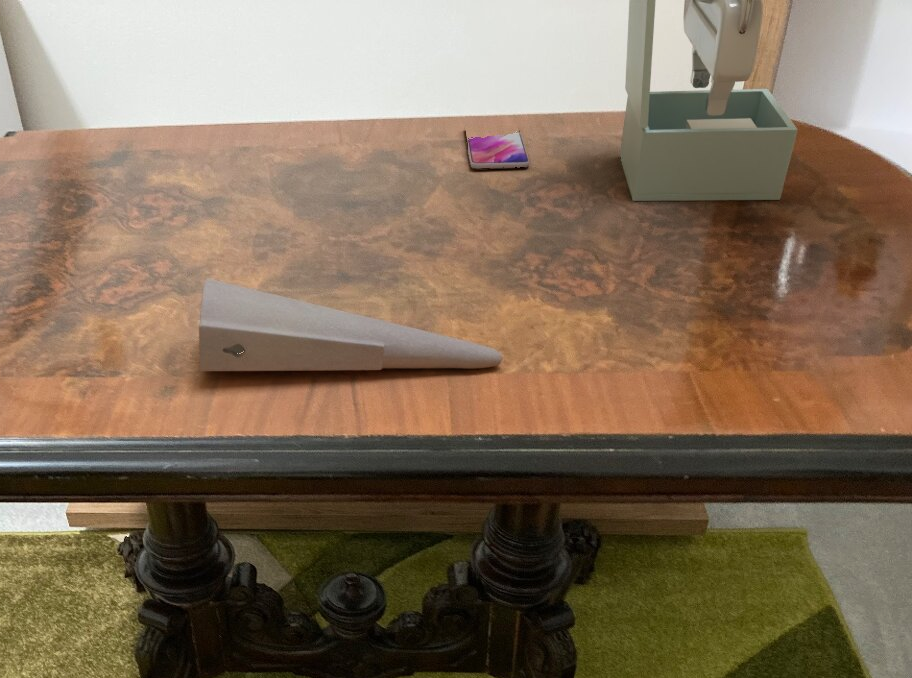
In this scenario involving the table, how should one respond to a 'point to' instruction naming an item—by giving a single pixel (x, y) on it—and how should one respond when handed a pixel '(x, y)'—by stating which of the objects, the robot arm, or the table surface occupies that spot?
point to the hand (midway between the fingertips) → (706, 99)
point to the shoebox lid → (640, 57)
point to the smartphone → (498, 151)
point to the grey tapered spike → (316, 337)
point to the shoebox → (707, 149)
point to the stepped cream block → (719, 123)
